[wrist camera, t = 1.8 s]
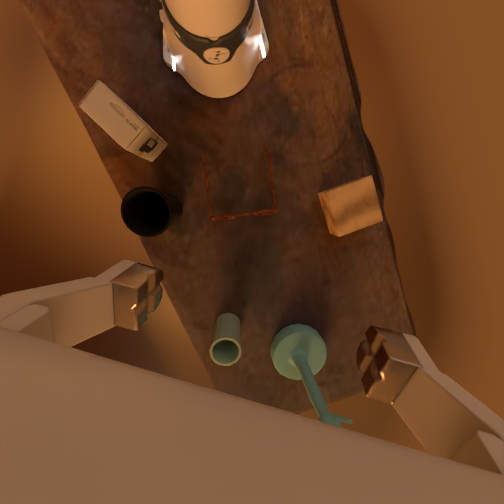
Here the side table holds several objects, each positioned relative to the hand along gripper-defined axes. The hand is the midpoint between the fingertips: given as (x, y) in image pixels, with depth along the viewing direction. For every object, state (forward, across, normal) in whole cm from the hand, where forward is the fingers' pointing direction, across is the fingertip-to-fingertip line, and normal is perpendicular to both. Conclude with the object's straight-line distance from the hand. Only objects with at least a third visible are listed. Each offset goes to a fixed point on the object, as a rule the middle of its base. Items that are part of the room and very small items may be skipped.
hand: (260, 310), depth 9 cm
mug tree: (+37, -12, +35) cm, 52 cm away
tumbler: (+35, +5, +32) cm, 48 cm away
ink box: (+39, +29, -2) cm, 48 cm away
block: (+45, -13, +3) cm, 47 cm away
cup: (+37, +22, +10) cm, 44 cm away
